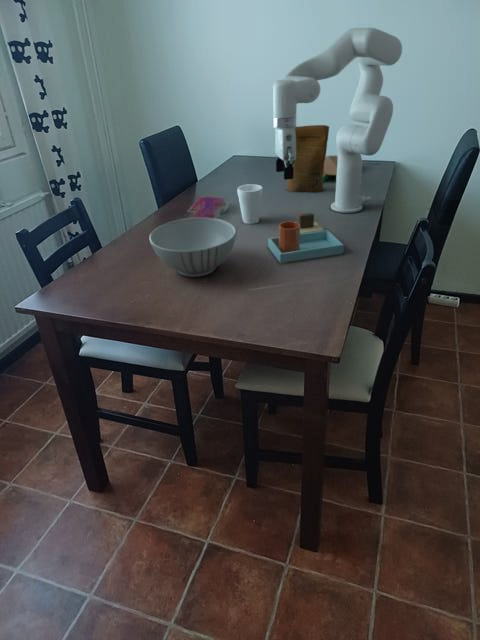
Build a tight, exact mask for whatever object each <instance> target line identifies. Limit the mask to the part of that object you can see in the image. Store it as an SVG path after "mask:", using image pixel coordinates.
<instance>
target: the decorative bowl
mask: <svg viewBox="0 0 480 640" xmlns="http://www.w3.org/2000/svg"><path fill="white" fill-rule="evenodd" d="M237 233H238V232H237V228H236V226H235V225H234V224H233V223H231V222H230V221H227V220H224V219H221V218H218V219H216V218H213V217H212V218H211V217H209V218H206V217H201V216H200V217H197V218H191V217H187V218H180V219H176V220H172V221H168V222H166V223H164V224H161V225H159V226H158V227H156V228H155V229H153V230H152V231H151V232H150V234H149V239H148V240H149V243H150V245H151V247H152V250H153V251H154V252H155V254H156V255H157V257H158V258H159V259H160V260H161V261H162V262H163V263H164V264H165V265H166V266H168V268H170V269H172V270H175V271H177V272H178V273H179V274H180V275H182V276H185V277H189V278H191V277H192V278H197V277H203V276H207V275H209V274H211V273H213V272H214V271H215V270H216V268H217V267H218V266H220V265H221V264H222V263H223V262H224V261H225V260H226V259H227V258H228V256H229V255H230V253H231V251H232V249H233V248H234V244H235V241H236V238H237Z"/></svg>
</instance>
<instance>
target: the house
mask: <svg viewBox="0 0 480 640" xmlns="http://www.w3.org/2000/svg"><path fill="white" fill-rule="evenodd" d="M337 160H338V156H337V155H326V157H325V161H324V172H323V178H322V181H323V182H325V181H327V180H328V179H329V178H330V179H331V178H332V179H334V176H337Z"/></svg>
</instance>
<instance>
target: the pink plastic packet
mask: <svg viewBox="0 0 480 640" xmlns="http://www.w3.org/2000/svg"><path fill="white" fill-rule="evenodd" d="M228 201H229V200H228V198H227V197H214V196H213V197H212V196H200V197H199V198H198V199H197V200H196V201H195V202H194V203H193V204H192V206H190V208H188V209H187V213H193V214H192V216H191V217H190V218H197V217H206V218H216V219H219V218H221V216H222V214H225V213H226V212H227V210H228V208H229V207H230V205H231V204H232V203H230V202H228ZM221 212H222V214H221Z"/></svg>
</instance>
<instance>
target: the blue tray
mask: <svg viewBox="0 0 480 640" xmlns="http://www.w3.org/2000/svg"><path fill="white" fill-rule="evenodd" d="M267 243H268V245H267V246H268V249H269V250H270V251H271V253H272V254H273V255H274V256H275V258H276V259H277V261H278V262H279V263H280V264H284V263H290V262H291V263H292V262H298V261H302V260H309V259H316V258H323V257H330V256H336V255H342V254H344V250H345V249H344V248H345V245H344V243H343V242H342V241H340V240H339V239H338V237H336V236H335V235H334V234H333V233H332V232H330V231H329V230H328V229H325V230H324V231H317V232H310V233H303V234H300V250H299V251H293V252H286V253H282V252H281V251H280V250H279V236H276V237H269V238H267Z"/></svg>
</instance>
